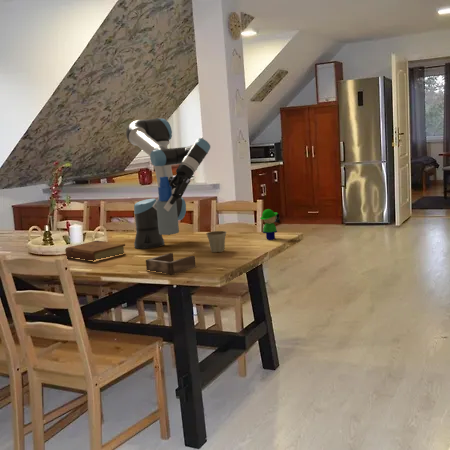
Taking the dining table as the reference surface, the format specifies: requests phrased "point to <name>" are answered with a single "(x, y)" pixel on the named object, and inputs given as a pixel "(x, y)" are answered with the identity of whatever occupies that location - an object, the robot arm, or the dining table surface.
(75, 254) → the diary
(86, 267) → the dining table surface
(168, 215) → the blue and grey bottle
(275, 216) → the toy
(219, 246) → the flower pot
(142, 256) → the dining table surface
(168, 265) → the rest
